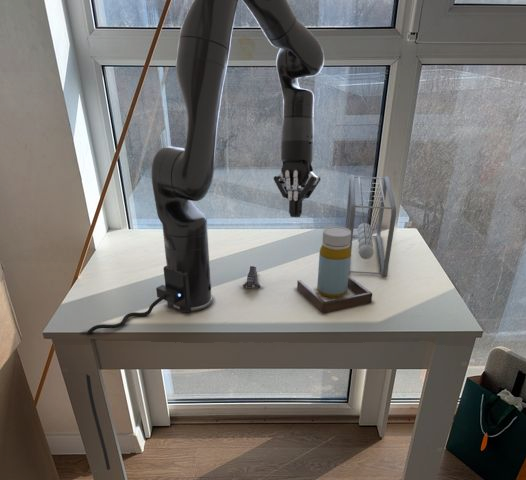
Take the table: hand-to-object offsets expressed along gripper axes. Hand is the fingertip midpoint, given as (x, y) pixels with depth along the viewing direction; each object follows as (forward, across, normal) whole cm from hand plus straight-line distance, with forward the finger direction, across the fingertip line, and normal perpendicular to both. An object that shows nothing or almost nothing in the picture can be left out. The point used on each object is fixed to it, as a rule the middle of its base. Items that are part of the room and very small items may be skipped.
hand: (295, 216), depth 123 cm
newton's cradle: (+11, +6, +22) cm, 26 cm away
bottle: (+17, +12, -1) cm, 21 cm away
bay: (+17, +14, -2) cm, 22 cm away
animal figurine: (+16, -4, -11) cm, 20 cm away
